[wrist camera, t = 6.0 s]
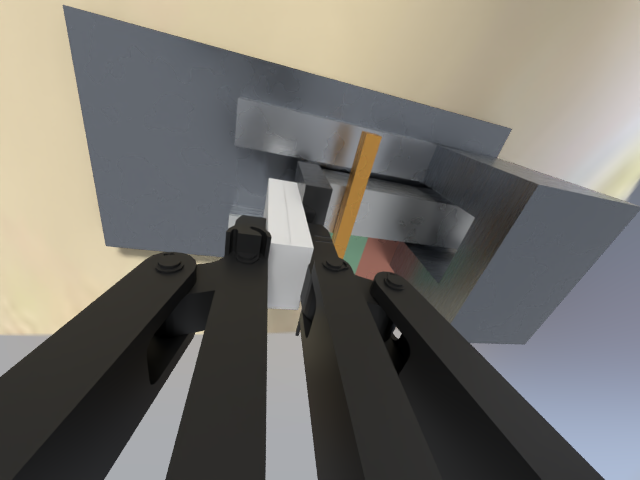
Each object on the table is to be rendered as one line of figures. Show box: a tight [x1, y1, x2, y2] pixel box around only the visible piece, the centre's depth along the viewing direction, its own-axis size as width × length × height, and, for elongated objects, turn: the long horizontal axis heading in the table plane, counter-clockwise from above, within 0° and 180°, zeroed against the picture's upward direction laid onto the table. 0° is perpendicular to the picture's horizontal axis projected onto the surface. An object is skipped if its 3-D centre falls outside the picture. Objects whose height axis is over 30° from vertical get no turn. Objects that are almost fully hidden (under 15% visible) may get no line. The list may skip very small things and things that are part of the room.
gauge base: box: [63, 5, 640, 344], centre depth 15 cm, size 13×26×10 cm, turn 77°
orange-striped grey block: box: [294, 131, 475, 259], centre depth 17 cm, size 9×13×6 cm
